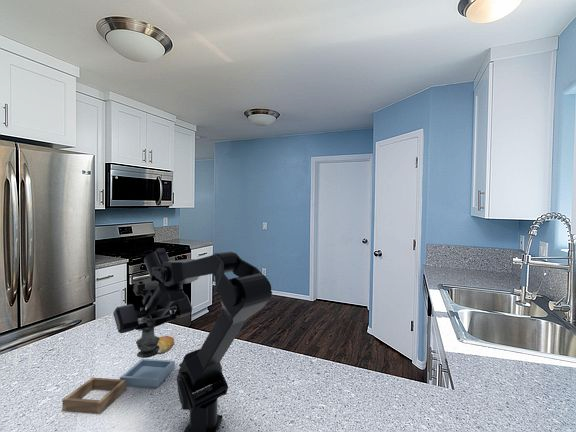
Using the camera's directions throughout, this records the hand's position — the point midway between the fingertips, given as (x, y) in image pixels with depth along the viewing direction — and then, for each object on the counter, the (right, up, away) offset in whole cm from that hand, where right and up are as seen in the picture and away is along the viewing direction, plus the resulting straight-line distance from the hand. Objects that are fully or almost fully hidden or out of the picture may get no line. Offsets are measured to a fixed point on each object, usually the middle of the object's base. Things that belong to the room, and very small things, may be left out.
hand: (146, 327), depth 84 cm
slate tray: (+1, -13, 0) cm, 13 cm away
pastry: (-3, -13, +17) cm, 22 cm away
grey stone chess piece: (+1, -7, -1) cm, 7 cm away
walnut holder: (-7, -13, -11) cm, 19 cm away
